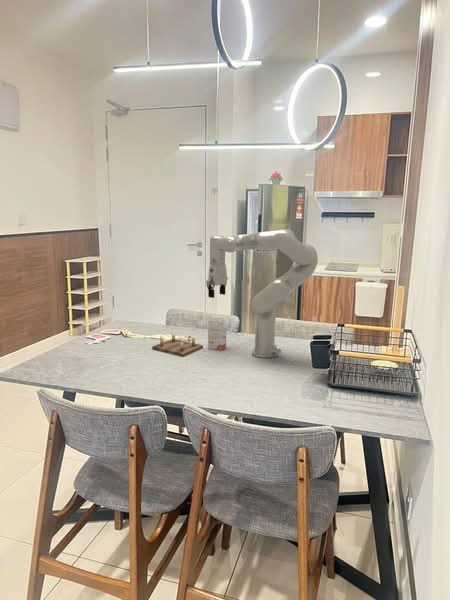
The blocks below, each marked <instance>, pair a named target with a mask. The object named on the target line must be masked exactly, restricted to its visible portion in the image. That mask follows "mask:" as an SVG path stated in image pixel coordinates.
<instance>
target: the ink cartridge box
mask: <svg viewBox="0 0 450 600" xmlns="http://www.w3.org/2000/svg"><path fill="white" fill-rule="evenodd" d="M207 323H208V326H207V349H208V350H217V351H224V350H225V349H227V325H224V322H223V321H215V320H208V321H207Z"/></svg>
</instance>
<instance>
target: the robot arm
mask: <svg viewBox="0 0 450 600" xmlns="http://www.w3.org/2000/svg"><path fill="white" fill-rule="evenodd" d="M247 250H248V251H249V250H258V251H266V250H267V251H268V250H278V251H280V252H281V253H283V254H284V255H285V256H287V257H288V258H289V259H290V260H291V261H293V262H294V263H295V265H294V266H292V267H291V268H290V269H289V270H288V271H286V272H285V273H284V274H282V275H281V276H280V277H278V278H276V279H275V280H273V281H272V282H271V283H269V284H268V285H267V286H265V287H264V288H263V289H262V290H261V291H259V292H258V293H257V294H255V295H254V296H253V298H252V299H251V304H250V305H251V309H252V311H253V312H255V323H254V324H255V327H254V330H255V331H254V332H255V334H254V335H255V336H254V348H253V349H252V350H251V355H252V356H254V357H257V358H263V359H267V358H268V359H269V358H274V357H276V356H278V355H282V349H281V348H277V344H275V343H276V342H275V341H276V316H277V306H278V305H279V304H281V303H282V302H284V300H285V299H287V298H288V297H289V296H290V295H291V294H292V293H293V292H294V291H295V290H296V289H298V287H300V286H301V285H302V284H303V283H305V282H306V281H307V280H308V279H309V278H310V277H311V276H312V275H313V273H315V270H316V269H317V265H318V258H319V257H318V253H317V250H316V248H315V247H314V246H313V245H311V244H307V243H306V244H304V243H303V242H301V241H300V240H298V239H297V238H296V236H295V232H293V231H292V230H291V229H286V228H285V229H277V230H268V231H267V230H265V231H258V232H255V233H250V234H247V233H245V234H237V235H230V236H224V235H223V236H222V235H213V236H210V237H209V268H208V275H207V276H208V277H207V278H208V279H207V280H206V281H205V284H206V287H207V291H208V292H207V293H208V296H207V297H208V298H212V299H215V287H216V286H219V295H224V296H225V295H226V287H227V283H228V279H229V278H228V274H227V265H226V253H234V252H238V251H247Z"/></svg>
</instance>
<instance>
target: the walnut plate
mask: <svg viewBox="0 0 450 600" xmlns="http://www.w3.org/2000/svg"><path fill="white" fill-rule="evenodd" d="M181 342H183V343H184V351H180V343H181ZM151 349H152V350H154V351H158V352H162V353H165V354H169V355H170V354H171V355H174V356H177V357H182V358H184V357H186V356H188V355H191V354H192V353H196V352H198V351H200V350H202V349H204V345H203V344H199V343H195V346H192V342H189V341H185V340H180V339H176V338H175V342H172V338H171V339H169V340H165V341H164V346H160V343H158V344H155V345H152V347H151Z"/></svg>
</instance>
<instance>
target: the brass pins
mask: <svg viewBox="0 0 450 600" xmlns="http://www.w3.org/2000/svg"><path fill="white" fill-rule="evenodd" d="M171 339H172V342H175V339H176V333H171ZM159 341H160V342H159V344H160V346H164V342H165V341H164V337H160V338H159ZM191 343H192V346H195V344H196V338H195V337H191ZM180 351H184V343H183V342H181V343H180Z"/></svg>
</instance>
